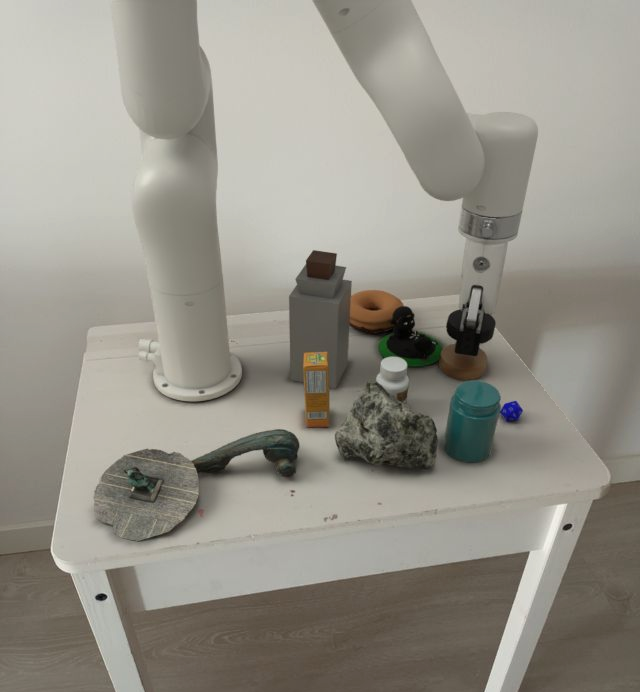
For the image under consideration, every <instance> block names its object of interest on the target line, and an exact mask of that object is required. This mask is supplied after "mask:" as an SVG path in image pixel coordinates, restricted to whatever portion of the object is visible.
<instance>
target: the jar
mask: <svg viewBox="0 0 640 692" xmlns="http://www.w3.org/2000/svg"><path fill="white" fill-rule="evenodd" d="M501 399H502V396H501V394H500V392H499V390H498V389H497V388H496V387H495V386H494V385H493V384H491V383H488V382H486V381H482V380H476V379H472V380H465V381H463V382H461V383H459V384H458V385H457V387H456V389H455V391H454V394H453V395H452V396H451V398H450V402H449V408H448V414H447V419H446V425H445V430H444V437H443V440H442V441H443V442H442V446H443V449H444V451H445V453H447V455H448V456H449V457H451V458H453V459H455V460H457V461H460V462H463V463H479V462H483V461H484V460H486V459H487V458H488V457H489V456H490V454H491V451H492V447H493V443H494V438H495V435H496V430H497V426H498V422H499V418H500V415H501V413H500V411H501V409H502V406H501Z"/></svg>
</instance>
